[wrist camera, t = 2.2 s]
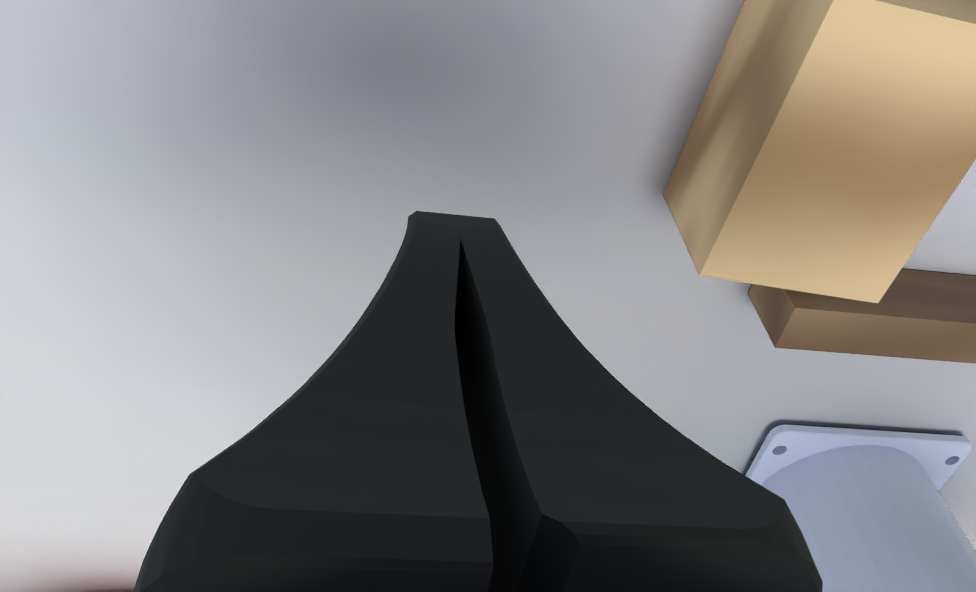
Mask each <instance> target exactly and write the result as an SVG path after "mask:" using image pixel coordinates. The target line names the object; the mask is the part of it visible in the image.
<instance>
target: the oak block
mask: <svg viewBox="0 0 976 592" xmlns="http://www.w3.org/2000/svg"><path fill="white" fill-rule="evenodd" d="M975 159H976V0H745V2H744V4H743V6H742V9H741V11H740V13H739V16H738V18H737V20H736V23H735V25H734V28H733V30H732V32H731V35H730V37H729V39H728V42H727V44H726V47H725V49H724V51H723V54H722V56H721V58H720V61H719V63H718V66H717V68H716V70H715V73H714V75H713V77H712V80H711V82H710V84H709V87H708V89H707V92H706V94H705V96H704V99H703V101H702V103H701V106H700V108H699V111H698V113H697V115H696V118H695V120H694V122H693V125H692V127H691V130H690V132H689V134H688V137H687V139H686V141H685V144H684V146H683V148H682V151H681V153H680V156H679V158H678V160H677V163H676V165H675V167H674V170H673V172H672V175H671V177H670V179H669V182H668V184H667V186H666V189H665V191H664V194H663V196H664V198H665V200H666V202H667V205H668V207H669V209H670V211H671V214H672V216H673V218H674V220H675V223H676V225H677V227H678V229H679V231H680V234H681V236H682V238H683V240H684V243H685V245H686V247H687V249H688V252H689V254H690V256H691V258H692V261H693V263H694V265H695V267H696V270H697V272H698V274H699V276H705V277H711V278H718V279H724V280H731V281H737V282H743V283H750V284H756V285H763V286H769V287H776V288H782V289H788V290H795V291H801V292H808V293H814V294H821V295H827V296H834V297H840V298H846V299H853V300H859V301H866V302H872V303H879V301H880V300H881V298H882V297H883V295H884V294H885V292H886V291H887V289H888V288H889V286H890V285H891V283H892V282H893V281H894V279H895V278H896V276H897V275H898V273H899V272H900V270H901V269H902V267H903V266H904V264H905V263H906V261H907V260H908V258H909V257H910V255H911V254H912V252H913V251H914V250H915V248H916V247H917V245H918V244H919V242H920V241H921V239H922V238H923V236H924V235H925V233H926V232H927V230H928V229H929V227H930V226H931V224H932V223H933V221H934V220H935V218H936V217H937V216H938V214H939V213H940V211H941V210H942V208H943V207H944V205H945V204H946V202H947V201H948V199H949V198H950V196H951V195H952V193H953V192H954V190H955V189H956V187H957V186H958V185H959V183H960V182H961V180H962V179H963V177H964V176H965V174H966V173H967V171H968V170H969V168H970V167H971V165H972V164H973V162H974V161H975Z"/></svg>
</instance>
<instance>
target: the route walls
mask: <svg viewBox="0 0 976 592" xmlns="http://www.w3.org/2000/svg"><path fill="white" fill-rule="evenodd" d="M748 295H749V297H750V299H751V301H752V303H753V305H754V307H755V309H756V311H757V313H758V315H759V317H760V319H761V321H762V323H763V325H764V327H765V329H766V331H767V333H768V335H769V337H770V339H771V341H772V343H773V345H774V347H775V348H787V349H800V350H813V351H825V352H838V353H851V354H863V355H876V356H889V357H901V358H914V359H926V360H939V361H952V362H964V363H976V276H972V275H962V274H952V273H941V272H931V271H921V270H910V269H901V270H900V272H899V273H898V275H897V276H896V278H895V279H894V281H893V282H892V283H891V285H890V286H889V288H888V289H887V291H886V292H885V294H884V295H883V297H882V298H881V300H880V301H879V303H872V302H866V301H859V300H853V299H846V298H840V297H834V296H827V295H821V294H814V293H808V292H801V291H795V290H788V289H782V288H776V287H769V286H763V285H756V284H752V286H751V288H750V290H749V292H748Z"/></svg>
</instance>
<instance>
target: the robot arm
mask: <svg viewBox="0 0 976 592" xmlns="http://www.w3.org/2000/svg"><path fill="white" fill-rule="evenodd" d="M971 450H972V445H971V443H970V442H969V440H968V439H967V438H966V437H964V436H956V435H940V434H925V433H909V432H893V431H878V430H862V429H847V428H831V427H816V426H800V425H779V426H776V427H775V428H773V429H772V430H771V431H770V432H769V434H768V435H767V437H766V439H765V441H764V443H763V444H762V446H761V448H760V450H759V452H758V453H757V455H756V457H755V459H754V461H753V462H752V464H751V466H750V468H749V470H748V471H747V473H746V475H743V474H741V473H740V472H738V471H736V470H735V469H733V468H731V467H730V466H728V465H726V464H725V463H723V462H721V461H720V460H718V459H717V458H715V457H714V456H712V455H711V454H710V453H708V452H707V451H705V450H704V449H703V448H701V447H700V446H698V445H697V444H695V443H694V442H693V441H691V440H690V439H688V438H687V437H685V436H684V435H683V434H681V433H680V432H679V431H677V430H676V429H675V428H673V427H672V426H671V425H669V424H668V423H667V422H666V421H664V420H663V419H662V418H660V417H659V416H658V415H657V414H656V413H654V412H653V411H652V410H651V409H650V408H648V407H647V406H646V405H645V404H644V403H643V402H641V401H640V400H639V399H638V398H637V397H635V396H634V395H633V394H632V393H631V392H630V391H628V390H627V389H626V388H625V387H624V386H623V385H622V384H621V383H620V382H619V381H618V380H616V379H615V378H614V377H613V376H612V375H611V374H610V373H609V372H608V371H607V370H606V369H605V368H604V367H603V366H602V365H601V363H600V362H599V361H598V360H597V359H596V358H595V357H594V356H593V355H592V354H591V353H590V352H589V351H588V350H587V349H586V348H585V347H584V346H583V345H582V344H581V342H580V341H579V340H578V339H577V338H576V336H575V335H574V334H573V333H572V332H571V330H570V329H569V328H568V327H567V325H566V324H565V323H564V322H563V320H562V319H561V318H560V317H559V315H558V314H557V313H556V311H555V310H554V309H553V307H552V306H551V305H550V303H549V302H548V300H547V299H546V297H545V296H544V295H543V293H542V292H541V290H540V289H539V288H538V286H537V285H536V283H535V282H534V280H533V279H532V277H531V276H530V274H529V273H528V271H527V270H526V268H525V267H524V265H523V263H522V262H521V260H520V259H519V257H518V256H517V254H516V252H515V251H514V249H513V247H512V246H511V244H510V242H509V240H508V239H507V237H506V235H505V233H504V232H503V230H502V228H501V226H500V225H499V224H498V222H497V221H496V220H495V219H493V218H482V217H472V216H462V215H452V214H442V213H431V212H421V211H416V212H414V213H413V214H412V215H410V216H409V217H408V225H407V230H406V234H405V237H404V240H403V243H402V245H401V247H400V250H399V252H398V254H397V257H396V259H395V261H394V263H393V265H392V266H391V268H390V270H389V272H388V274H387V276H386V278H385V280H384V282H383V283H382V285H381V287H380V289H379V290H378V292H377V293H376V295H375V296H374V298H373V299H372V301H371V303H370V304H369V306H368V307H367V309H366V310H365V312H364V313H363V315H362V316H361V318H360V319H359V321H358V322H357V323H356V325H355V326H354V327H353V329H352V330H351V331H350V333H349V334H348V335H347V337H346V338H345V339H344V340H343V342H342V343H341V344H340V345H339V346H338V348H337V349H336V350H335V351H334V352H333V354H332V355H331V356H330V357H329V358H328V359H327V360H326V361H325V363H324V364H323V365H322V366H321V367H320V368H319V369H318V370H317V371H316V372H315V373H314V374H313V375H312V376H311V377H310V379H309V380H308V381H307V382H306V383H305V384H304V385H303V386H302V387H301V388H300V389H299V390H298V391H296V392H295V393H294V394H293V395H292V396H291V397H290V398H289V399H288V400H287V401H285V402H284V403H283V404H282V405H281V406H280V407H278V408H277V409H276V410H275V411H274V412H273V413H271V414H270V415H269V416H268V417H267V418H266V419H264V420H263V421H262V422H261V423H260V424H259V425H257V426H256V427H255V428H254V429H253V430H251V431H250V432H249V433H247V434H246V435H245V436H244V437H242V438H241V439H240V440H238V441H237V442H235V443H234V444H232V445H231V446H230V447H228V448H227V449H225V450H224V451H222V452H221V453H220V454H218V455H217V456H215V457H214V458H212V459H211V460H210V461H208V462H207V463H205V464H204V465H202V466H201V467H200V468H198V469H197V470H195V471H194V472H192V473H191V474H190V475H189V476H188V478H187V479H186V481H185V482H184V484H183V486H182V487H181V489H180V490H179V492H178V494H177V495H176V497H175V499H174V500H173V502H172V504H171V505H170V507H169V509H168V511H167V513H166V514H165V516H164V518H163V520H162V522H161V523H160V525H159V527H158V529H157V532H156V534H155V536H154V538H153V540H152V542H151V544H150V546H149V549H148V551H147V553H146V556H145V558H144V560H143V563H142V566H141V569H140V572H139V576H138V579H137V582H136V585H135V588H134V591H133V592H976V551H975V550H974V548H973V547H972V545H971V543H970V542H969V540H968V538H967V537H966V535H965V534H964V532H963V530H962V529H961V527H960V525H959V524H958V522H957V521H956V519H955V517H954V516H953V514H952V512H951V511H950V509H949V508H948V506H947V504H946V503H945V501H944V499H943V498H942V496H941V495H940V493H939V490H940V489H941V488H942V487H943V485H944V484H945V483H946V482H947V480H948V479H949V478H950V477H951V475H952V474H953V473H954V472H955V470H956V469H957V468H958V467H959V466H960V464H961V463H962V462H963V461H964V459H965V458H966V457H967V456H968V454H969V453H970V451H971Z"/></svg>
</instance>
